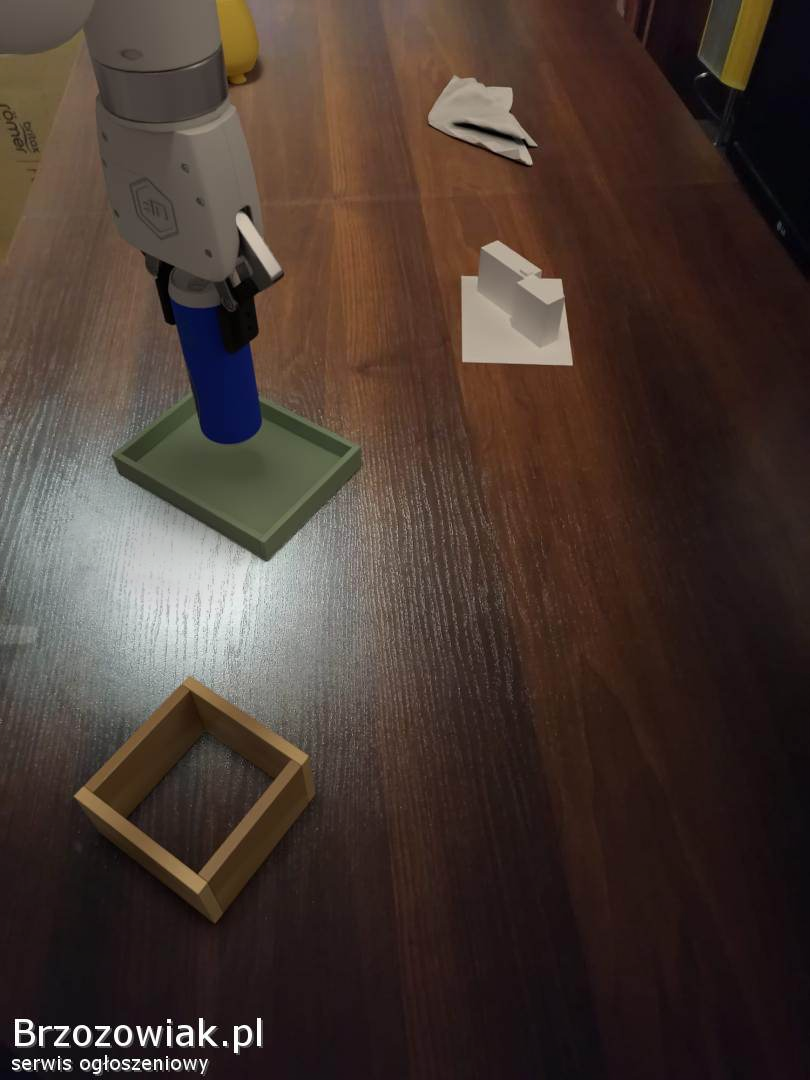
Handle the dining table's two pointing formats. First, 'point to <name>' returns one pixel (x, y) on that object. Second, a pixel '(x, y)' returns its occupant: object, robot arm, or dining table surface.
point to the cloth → (481, 118)
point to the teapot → (237, 38)
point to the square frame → (153, 758)
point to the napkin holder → (513, 312)
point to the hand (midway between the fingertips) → (212, 327)
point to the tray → (241, 473)
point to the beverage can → (214, 362)
